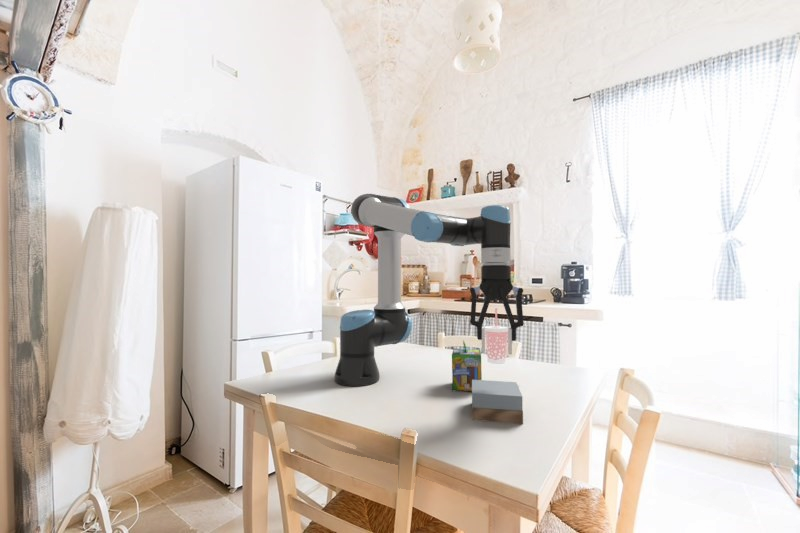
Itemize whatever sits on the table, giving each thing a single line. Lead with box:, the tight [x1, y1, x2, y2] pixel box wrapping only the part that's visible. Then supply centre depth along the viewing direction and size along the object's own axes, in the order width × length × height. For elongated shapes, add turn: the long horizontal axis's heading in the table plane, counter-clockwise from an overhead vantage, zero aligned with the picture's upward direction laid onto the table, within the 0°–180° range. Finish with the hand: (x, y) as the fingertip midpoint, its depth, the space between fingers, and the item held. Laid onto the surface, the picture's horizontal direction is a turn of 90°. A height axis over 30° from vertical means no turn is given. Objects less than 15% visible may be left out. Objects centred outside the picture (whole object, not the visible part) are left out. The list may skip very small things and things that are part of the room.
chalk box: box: [451, 340, 483, 392], centre depth 115 cm, size 9×9×15 cm
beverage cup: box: [484, 307, 509, 365], centre depth 94 cm, size 6×6×14 cm
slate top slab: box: [471, 379, 523, 411], centre depth 94 cm, size 12×12×4 cm
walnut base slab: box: [471, 406, 524, 425], centre depth 94 cm, size 12×12×4 cm
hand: (496, 352), depth 94 cm, fingers closed on beverage cup, 6 cm apart
